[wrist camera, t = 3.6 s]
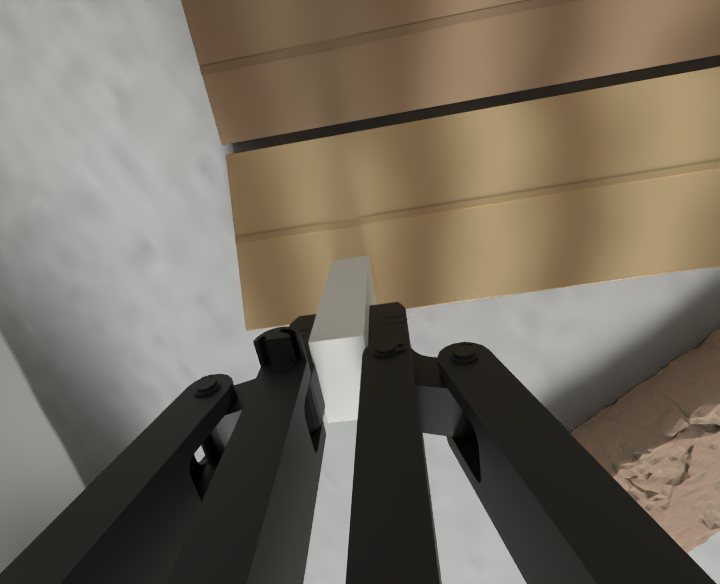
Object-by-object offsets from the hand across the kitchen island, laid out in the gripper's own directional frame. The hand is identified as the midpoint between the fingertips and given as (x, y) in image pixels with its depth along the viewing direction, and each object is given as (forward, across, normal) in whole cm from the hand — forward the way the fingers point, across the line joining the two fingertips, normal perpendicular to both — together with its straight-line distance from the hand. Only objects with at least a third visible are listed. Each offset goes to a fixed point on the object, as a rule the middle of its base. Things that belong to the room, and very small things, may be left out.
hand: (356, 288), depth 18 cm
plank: (+3, +9, +2) cm, 10 cm away
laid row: (+5, +9, +9) cm, 14 cm away
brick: (+6, +17, -14) cm, 22 cm away
